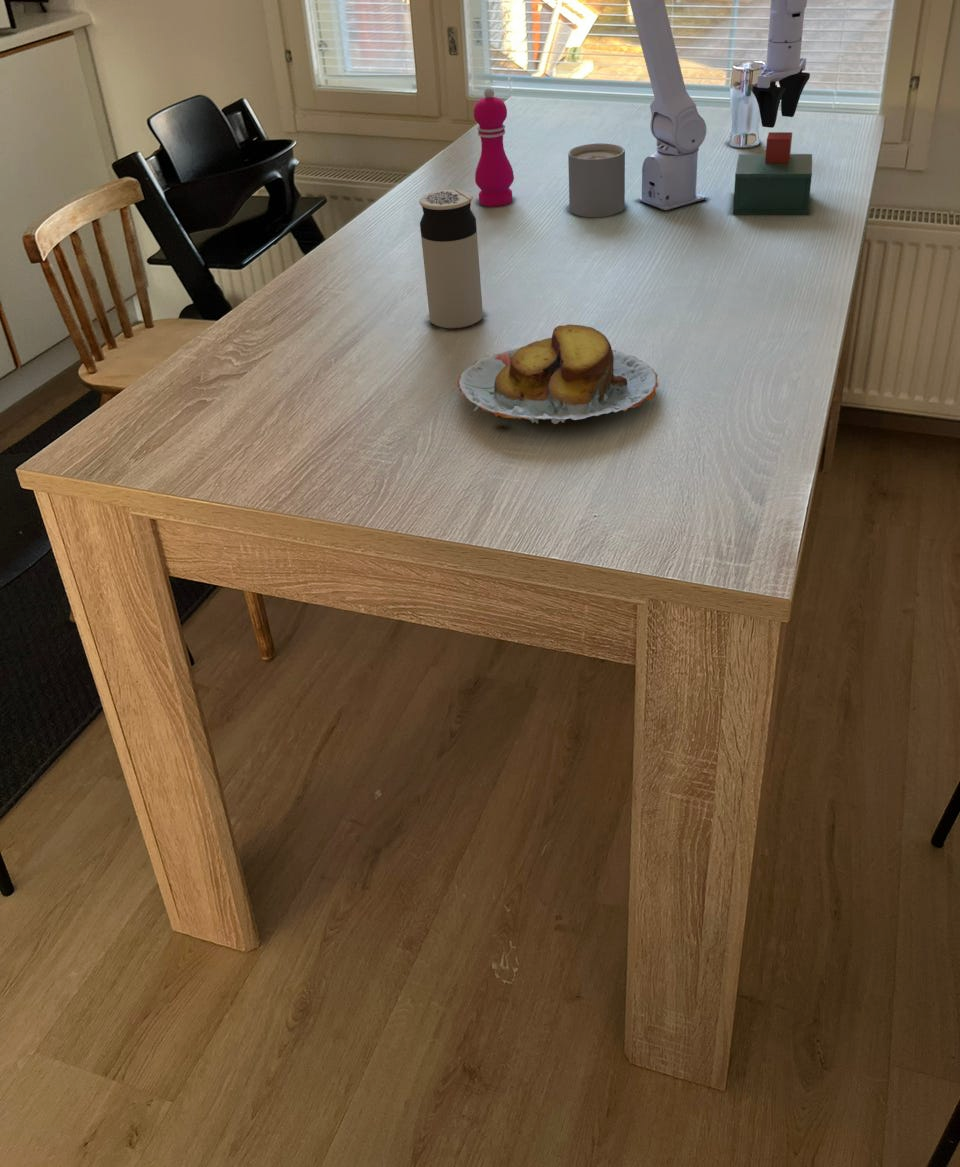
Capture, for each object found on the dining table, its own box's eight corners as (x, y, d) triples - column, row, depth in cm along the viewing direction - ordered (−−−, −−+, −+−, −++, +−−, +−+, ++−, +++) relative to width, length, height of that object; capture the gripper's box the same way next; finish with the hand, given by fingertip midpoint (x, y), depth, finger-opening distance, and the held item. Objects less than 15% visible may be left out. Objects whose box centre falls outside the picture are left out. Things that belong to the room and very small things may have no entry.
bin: (807, 214, 193) (811, 176, 189) (732, 214, 196) (735, 176, 192) (807, 194, 201) (811, 158, 197) (736, 194, 204) (738, 158, 200)
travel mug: (437, 333, 164) (424, 210, 153) (424, 313, 170) (411, 194, 159) (489, 324, 165) (480, 201, 154) (475, 304, 171) (465, 185, 161)
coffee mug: (617, 218, 198) (617, 160, 192) (563, 216, 201) (561, 158, 195) (633, 194, 208) (634, 138, 202) (581, 192, 211) (580, 137, 205)
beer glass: (764, 147, 226) (770, 67, 217) (729, 149, 226) (734, 70, 218) (758, 137, 232) (764, 59, 223) (724, 140, 232) (728, 62, 223)
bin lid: (811, 178, 189) (811, 173, 188) (735, 177, 192) (735, 173, 191) (811, 157, 197) (812, 153, 197) (738, 158, 200) (738, 154, 200)
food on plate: (422, 395, 148) (417, 349, 144) (564, 338, 160) (563, 294, 156) (549, 464, 131) (548, 414, 127) (697, 394, 143) (699, 346, 139)
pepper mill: (516, 194, 213) (510, 82, 201) (513, 206, 207) (507, 91, 195) (478, 196, 214) (470, 84, 202) (474, 208, 208) (466, 94, 196)
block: (788, 162, 194) (790, 138, 191) (765, 162, 195) (766, 138, 193) (790, 156, 197) (792, 132, 194) (766, 155, 198) (768, 132, 196)
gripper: (783, 29, 202) (776, 109, 210) (743, 46, 193) (738, 129, 201) (819, 32, 198) (811, 113, 206) (781, 49, 189) (774, 133, 197)
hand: (778, 121), depth 203 cm, fingers open, 7 cm apart
